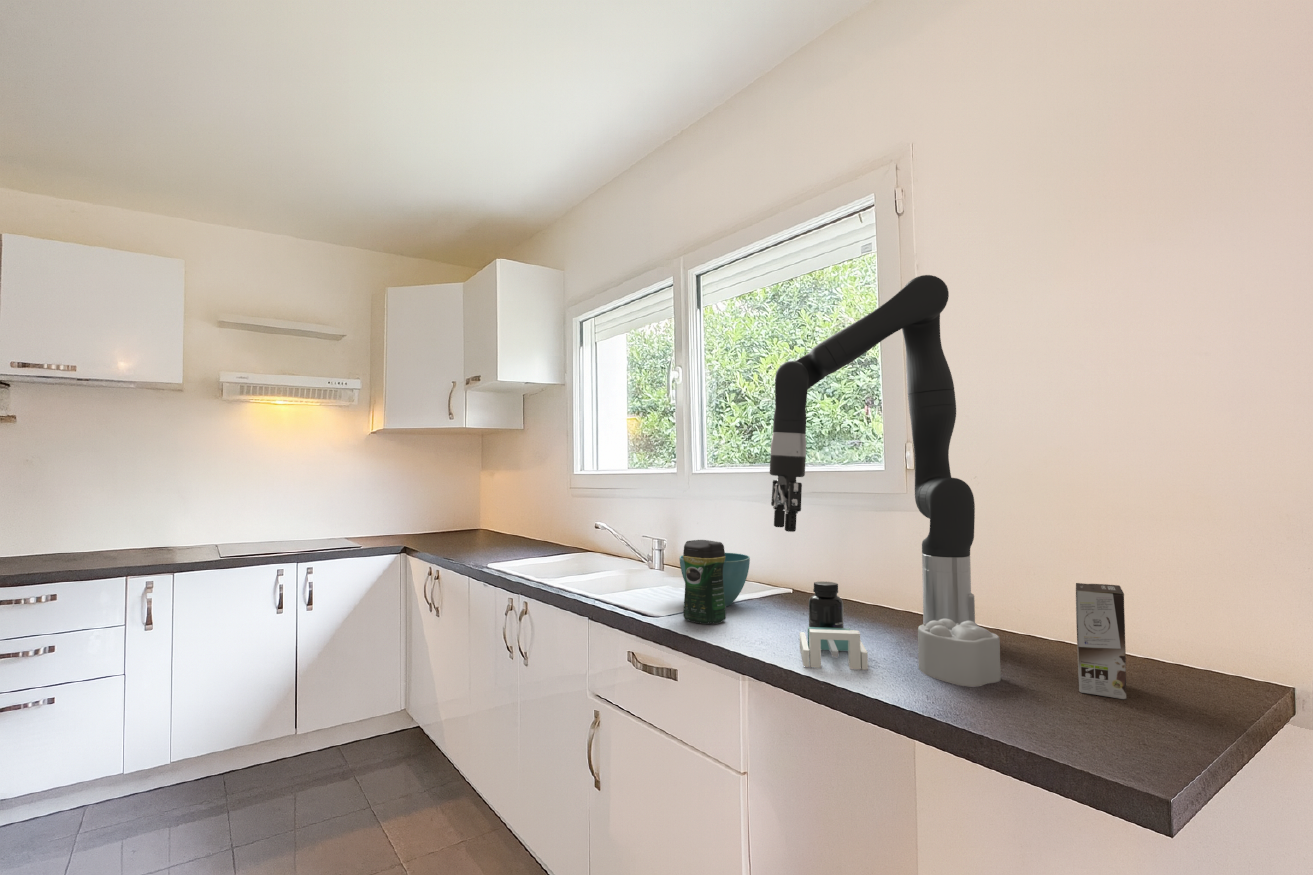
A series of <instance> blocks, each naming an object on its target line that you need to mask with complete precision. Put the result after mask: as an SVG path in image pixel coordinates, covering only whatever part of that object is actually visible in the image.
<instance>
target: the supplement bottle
mask: <svg viewBox="0 0 1313 875" xmlns="http://www.w3.org/2000/svg"><path fill="white" fill-rule="evenodd" d="M812 590H813V593H814V594H813V595H811V596H810V597H809V599H808V627H821V628H844V601H843V599H842V598H841V597H840V596H839V595H838V593H839V584H838V583H837V582H833V581H814V582H813V589H812Z"/></svg>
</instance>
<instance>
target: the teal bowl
mask: <svg viewBox="0 0 1313 875" xmlns="http://www.w3.org/2000/svg"><path fill="white" fill-rule="evenodd" d="M750 558H751V557H750V556H749V555H746V554H742V553H737V552H725V561H724V565H723V585H724V598H725V608H726V607H728V606H732V604H733V603H734V602H735V601H736V599H738V596H740V594H741V592H742V590H743V588H744V586H745V583H746V582H747V581H746V580H747V579H748V578H747V577H748V575H749V569H750V563H751V562H750V561H751V559H750ZM679 565H680V566H679V567H680V571H681V575H682V577H683V581H684V582H685V563H684V559H683V554H682V555H680V556H679Z"/></svg>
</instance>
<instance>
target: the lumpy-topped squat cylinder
mask: <svg viewBox="0 0 1313 875" xmlns="http://www.w3.org/2000/svg"><path fill="white" fill-rule="evenodd" d="M917 627H918V628H917V646H918V648H917V649H918V650H917V651H918V654H917V655H918V658H917V659H918V670H920V672H921V673H923V674H924V675H925V676H928V677H930V678H933V679H936V680H939V681H942V682H946V683H949V684H953V685H955V686H956V685H957V686H961V687H970V688H974V687H975V688H977V687H981V686H984V685H989V684H994V683H999V682H1001V677H1002V676H1001V647H1000V646H1001V645H1000V644H1001V643H1000V641H1001V640H1000V639H1001V638H1000V636H999V635H997V634H996V633H994V632H991V631H989V630H988V629H986V628H984V627H981V626H979V625H978V624H977V623H976V621H975V622H973V621H964V622H962V623H961V624H958V623H957V624H955V623H954V622H953V621H952V620H950V619H940V620H939V621H936V620H933V621H930V622H928V623H927V624H925V623H924V624H923V623H922V624H921V625H919V626H917Z"/></svg>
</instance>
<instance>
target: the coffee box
mask: <svg viewBox="0 0 1313 875" xmlns="http://www.w3.org/2000/svg"><path fill="white" fill-rule="evenodd" d="M1075 612H1076V613H1075V616H1076V620H1075V622H1076V645H1077V646H1076V647H1077V650H1076V651H1077V653H1076V654H1077V671H1078V672H1077V674H1078V690H1079V691H1078V692H1080V693H1081V694H1087V695H1094V696H1096V695H1097V696H1101V697H1106V698H1107V697H1108V698H1114V699H1120V700H1127V663H1126V662H1127V661H1126V660H1127V657H1126V655H1127V654H1126V619H1125V618H1126V616H1125V593H1124V591H1123V589H1122V587H1121V586H1120V585H1117V584H1107V583H1106V584H1105V583H1081V582H1076V583H1075Z"/></svg>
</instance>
